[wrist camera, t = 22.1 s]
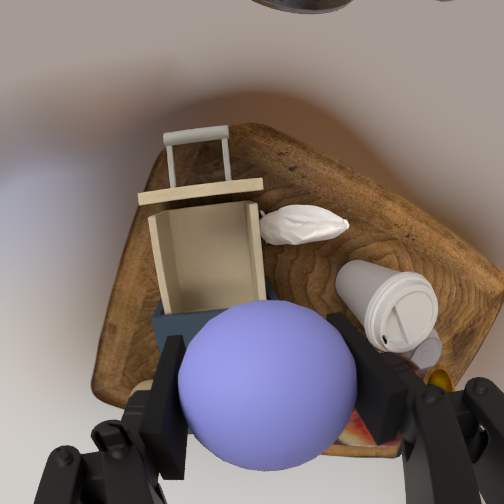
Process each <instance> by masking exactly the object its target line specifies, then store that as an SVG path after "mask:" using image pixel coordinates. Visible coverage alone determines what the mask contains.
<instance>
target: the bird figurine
mask: <svg viewBox="0 0 504 504" xmlns="http://www.w3.org/2000/svg"><path fill="white" fill-rule="evenodd" d="M260 213H261V215H262V216H263V217H262V218H261V219H260V220H259V225H260V235H261V237H262V238H263V239H264V240H265V241H266V244H267V243H270V244H273V245H282V244H290V245H299V244H303V243H308V242H313V241H320V240H329V239H333V238H335V237H337V236H338V235H340V234H341V233H342V232H344V231H345V230H346V229H348V228H349V224H348V222H347V220H345V219H344V220H343V219H342V218H341V217H339V216H337V215H335V214H334V213H332V212H330V211H328V210H326V209H323V208H320V207H317V206H310V205H289V206H285V207H282V208H280V209H279V210H278V211H274V212H271V213H268V214H265V213H264V212H263V211H262V210H260Z"/></svg>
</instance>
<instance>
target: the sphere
mask: <svg viewBox="0 0 504 504" xmlns="http://www.w3.org/2000/svg"><path fill="white" fill-rule="evenodd" d="M178 390H179V403H180V408H181V412H182V414H183V416H184V418H185V420H186V422H187V423H188V425H189V427H190V429H191V431H192V432H193V434H194V436H195V438H196V439H197V440H198V441H199V442H200V443H201V444H202V445H203V446H204V447H206V448H207V449H208V450H209V451H210V452H212V453H213V454H214V455H215V456H217V457H218V458H220V459H222V460H223V461H226V462H228V463H230V464H233V465H235V466H238V467H241V468H245V469H250V470H258V471H277V470H284V469H288V468H292V467H296V466H299V465H301V464H303V463H306V462H308V461H310V460H312V459H314V458H316V457H317V456H318V455H320V454H321V453H322V452H324V451H325V450H326V449H328V448H329V447H330V446H331V445H332V444H333V443H334V442H335V441H336V440H337V438H338V437H339V436H340V435H341V433H342V432H343V431H344V429H345V428H346V426H347V424H348V423H349V420H350V417H351V415H352V412H353V409H354V406H355V403H356V399H357V373H356V365H355V361H354V358H353V356H352V354H351V352H350V350H349V348H348V347H347V345H346V343H345V341H344V339H343V338H342V336H341V334H340V332H339V331H338V330H337V329H336V328H335V327H334V326H333V325H331V324H330V323H329V322H328V321H326V320H325V319H324V318H323V317H321V316H320V315H319V314H317V313H316V312H315V311H313V310H311V309H308V308H306V307H303V306H300V305H297V304H294V303H291V302H288V301H275V300H256V301H253V302H249V303H245V304H241V305H237V306H233V307H231V308H229V309H228V310H226V311H224V312H223V313H221V314H219V315H217V316H216V317H214V318H212V319H211V320H209V321H208V322H207V323H206V324H205V326H204V327H203V328H202V329H201V330H200V331H199V332H198V334H197V335H196V336H195V337H194V338H193V339H192V341H191V342H190V343H189V345H188V348H187V350H186V353H185V356H184V359H183V361H182V364H181V367H180V370H179V373H178Z"/></svg>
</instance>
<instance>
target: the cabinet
mask: <svg viewBox="0 0 504 504" xmlns="http://www.w3.org/2000/svg"><path fill="white" fill-rule="evenodd" d="M264 278H265V289H266V300H275V301H279V300H278V298H277V296H276V294H275V292H274V290H273V288H272V286H271V284H270V282H269V280H268V278H267V276H266V275H264ZM228 309H229V308H223V309H214V310H205V311H196V312H186V313H176V314H165V312H164V308H163V303H162V298H161V300H160V302H159V304H158V306H157V308H156V310H155V312H154V314H153V316H152V318H151V320H152V324H153V328H154V332H155V336H156V340H157V344H158V348H159V351H160V355H161V354H162V351H163V348H164V344H165V341H166V338H167V336H171V335H183V339H184V343H185V348H186V350H187V348H188V345H189V343H190V342H191V341H192V339H193V338H194V337H195V336H196V335H197V334H198V332H199V331H200V330H201V329H202V328H203V327H204V326H205V324H206V323H207V322H208V321H209V320H211V319H212V318H214V317H216V316H217V315H219V314H221V313H223V312H224V311H226V310H228ZM188 434H193V432H192V431H191V429H190V427H189V425H188Z"/></svg>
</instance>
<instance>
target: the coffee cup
mask: <svg viewBox="0 0 504 504" xmlns="http://www.w3.org/2000/svg"><path fill="white" fill-rule="evenodd" d="M335 285H336V291H337V293H338V295H339V296H340V297H341V299H342V300H343V301H344V302H345V304H346V305H347V306H348V308H349V309H350V310H351V311H352V313H353V314H354V315H355V316H356V318H357V319H358V320H359V322H360V323H361V324H362V326H363V327H364V328H365V333H366V336H367V338H368V340H369V342H370V343H371V344H372V345H373V346H374V347H376V348H377V349H380V350H382V351H385V352H388V351H389V352H396V353H403V352H407V351H410V350H412V349H414V348H416V347H417V346H418V345H420V344H421V343H422V342H423V341H424V340H425V339H426V338H427V336H428V335H429V334H430V332H431V330H432V329H433V327H434V324H435V322H436V319H437V314H438V301H437V298H436V295H435V293H434V291H433V288H432V286H431V285H430V283H429V282H428V281H427V280H426V279H425V278H424V277H423V276H422V275H420V274H418V273H416V272H398V271H395V270H392V269H389V268H385V267H382V266H379V265H376V264H373V263H369V262H366V261H363V260H353V261H350V262H348V263H346V264H345V265H344V266H343V267H342V268H341V269H340V271H339V272H338V274H337V277H336V283H335Z"/></svg>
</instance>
